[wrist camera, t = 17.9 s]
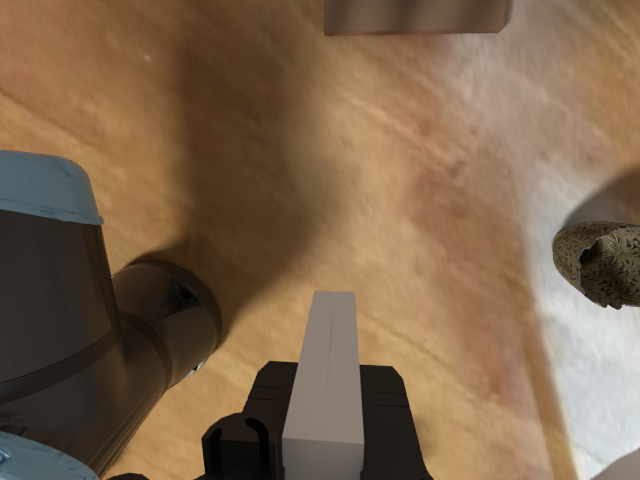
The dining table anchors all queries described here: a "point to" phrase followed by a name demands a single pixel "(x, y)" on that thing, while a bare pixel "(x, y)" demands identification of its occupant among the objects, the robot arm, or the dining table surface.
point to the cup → (601, 261)
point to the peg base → (413, 16)
